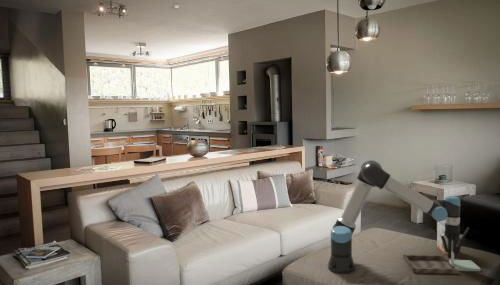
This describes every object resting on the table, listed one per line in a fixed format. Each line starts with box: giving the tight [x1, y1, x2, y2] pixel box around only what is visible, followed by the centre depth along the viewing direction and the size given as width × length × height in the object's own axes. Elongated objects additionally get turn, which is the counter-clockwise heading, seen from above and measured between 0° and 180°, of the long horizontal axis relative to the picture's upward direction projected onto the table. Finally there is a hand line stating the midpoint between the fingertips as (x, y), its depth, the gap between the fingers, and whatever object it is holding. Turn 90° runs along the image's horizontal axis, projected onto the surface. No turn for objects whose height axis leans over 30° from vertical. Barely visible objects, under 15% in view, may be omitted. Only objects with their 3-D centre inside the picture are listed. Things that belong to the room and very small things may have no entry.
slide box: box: [402, 254, 459, 275], centre depth 224 cm, size 23×20×3 cm
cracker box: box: [436, 220, 453, 255], centre depth 245 cm, size 14×6×21 cm, turn 172°
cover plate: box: [448, 259, 482, 272], centre depth 221 cm, size 12×12×2 cm
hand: (451, 263), depth 222 cm, fingers closed
